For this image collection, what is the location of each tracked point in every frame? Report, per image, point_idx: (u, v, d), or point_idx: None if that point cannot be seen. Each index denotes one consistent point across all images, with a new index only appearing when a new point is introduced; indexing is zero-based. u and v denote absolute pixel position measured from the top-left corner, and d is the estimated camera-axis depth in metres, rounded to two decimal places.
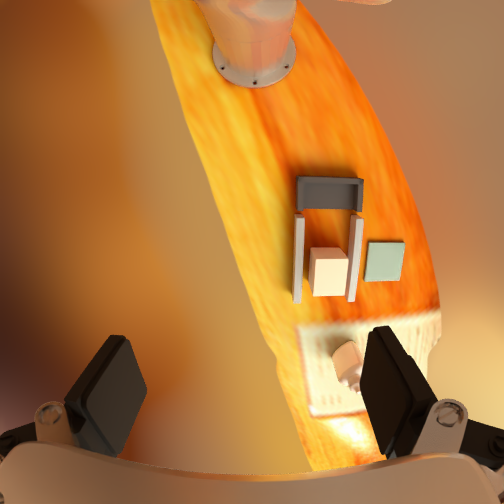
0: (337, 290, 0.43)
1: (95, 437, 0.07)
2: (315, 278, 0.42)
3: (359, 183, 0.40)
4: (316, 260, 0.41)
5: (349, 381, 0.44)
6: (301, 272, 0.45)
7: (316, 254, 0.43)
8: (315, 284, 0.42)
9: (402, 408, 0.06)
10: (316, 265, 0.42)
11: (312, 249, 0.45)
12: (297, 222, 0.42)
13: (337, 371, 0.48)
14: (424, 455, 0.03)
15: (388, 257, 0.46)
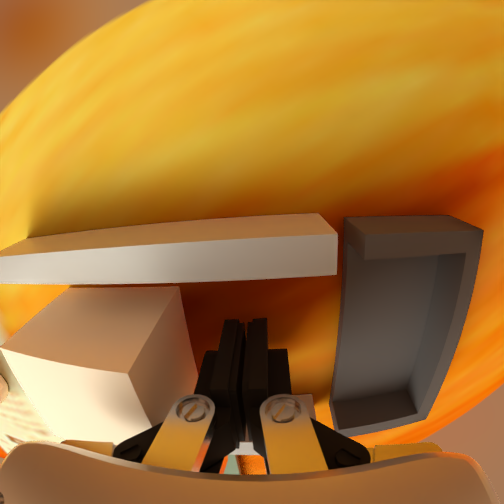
0: (54, 423, 0.08)
1: (234, 425, 0.08)
2: (50, 363, 0.07)
3: (419, 414, 0.11)
4: (122, 374, 0.07)
5: None
6: (72, 279, 0.08)
7: (153, 346, 0.08)
8: (32, 360, 0.07)
9: (243, 394, 0.08)
10: (100, 373, 0.07)
11: (172, 302, 0.11)
12: (314, 240, 0.08)
13: None
14: (424, 455, 0.03)
15: None
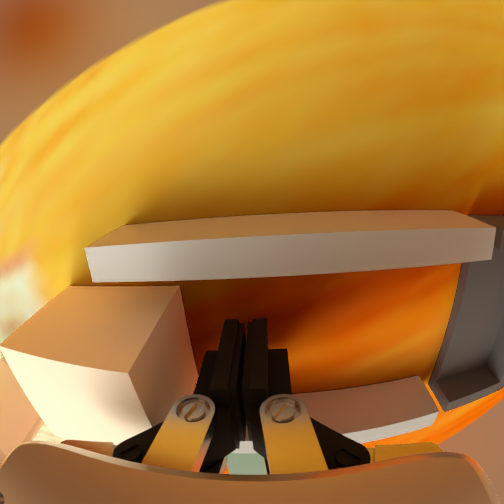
0: (53, 422, 0.08)
1: (234, 425, 0.08)
2: (49, 362, 0.07)
3: (500, 383, 0.10)
4: (123, 373, 0.07)
5: None
6: (257, 271, 0.08)
7: (154, 345, 0.08)
8: (31, 359, 0.07)
9: (243, 394, 0.08)
10: (100, 372, 0.07)
11: (173, 302, 0.11)
12: (484, 231, 0.07)
13: None
14: (424, 455, 0.03)
15: None
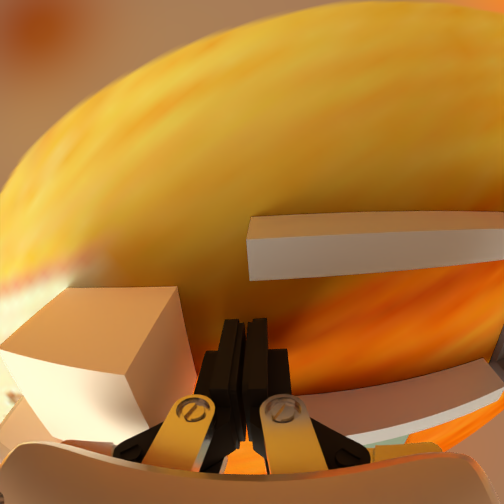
0: (52, 424, 0.08)
1: (234, 425, 0.08)
2: (47, 364, 0.07)
3: None
4: (119, 375, 0.07)
5: None
6: (425, 262, 0.08)
7: (151, 347, 0.08)
8: (29, 361, 0.07)
9: (243, 394, 0.08)
10: (97, 374, 0.07)
11: (170, 303, 0.11)
12: None
13: (12, 422, 0.09)
14: (424, 455, 0.03)
15: None
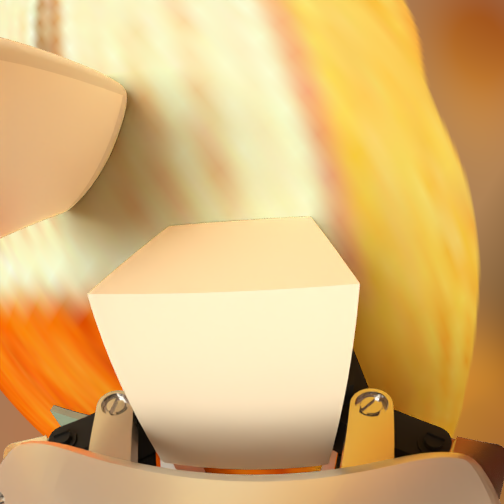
0: (152, 335, 0.05)
1: None
2: (336, 402, 0.06)
3: None
4: (324, 459, 0.06)
5: None
6: None
7: None
8: (339, 372, 0.05)
9: None
10: (326, 448, 0.06)
11: None
12: None
13: (31, 86, 0.04)
14: (424, 455, 0.03)
15: None
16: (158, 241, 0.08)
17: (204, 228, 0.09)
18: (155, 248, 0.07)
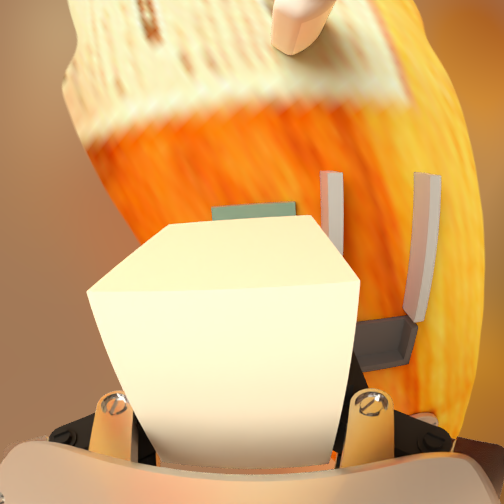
0: (151, 333, 0.05)
1: None
2: (337, 401, 0.06)
3: None
4: (325, 458, 0.06)
5: None
6: (428, 237, 0.22)
7: None
8: (339, 371, 0.05)
9: None
10: (327, 447, 0.06)
11: None
12: (423, 315, 0.24)
13: None
14: (424, 455, 0.03)
15: None
16: (158, 239, 0.08)
17: (204, 227, 0.09)
18: (154, 246, 0.07)
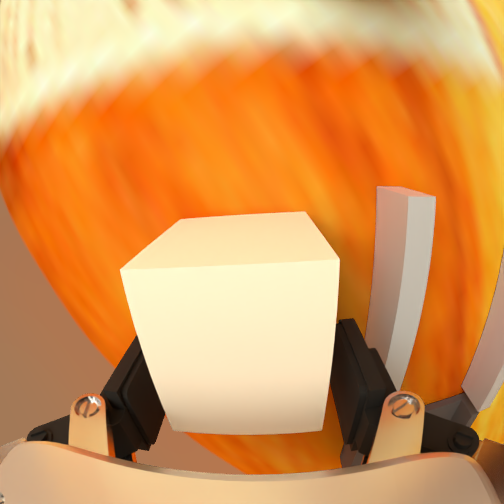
0: (174, 303, 0.07)
1: (132, 427, 0.07)
2: (326, 364, 0.07)
3: None
4: (318, 425, 0.08)
5: None
6: None
7: None
8: (326, 336, 0.07)
9: (357, 397, 0.07)
10: (319, 413, 0.08)
11: None
12: (491, 401, 0.12)
13: None
14: (424, 455, 0.03)
15: None
16: (173, 231, 0.10)
17: (212, 221, 0.11)
18: (171, 236, 0.09)
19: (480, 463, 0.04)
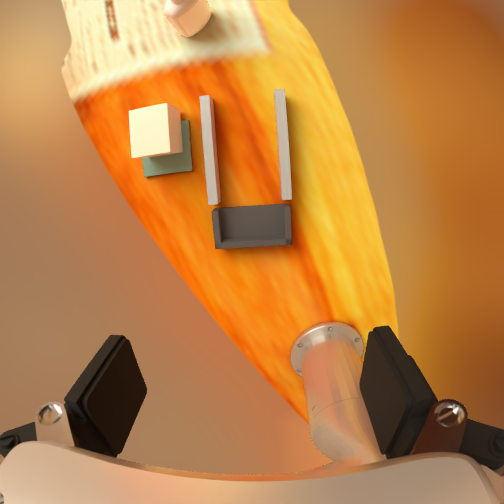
0: (138, 115, 0.29)
1: (95, 437, 0.07)
2: (167, 126, 0.30)
3: (219, 244, 0.38)
4: (169, 150, 0.31)
5: None
6: (279, 131, 0.33)
7: (171, 152, 0.33)
8: (166, 118, 0.30)
9: (402, 408, 0.06)
10: (168, 143, 0.31)
11: (179, 152, 0.35)
12: (290, 194, 0.35)
13: (204, 0, 0.25)
14: (424, 455, 0.03)
15: (161, 155, 0.36)
16: None
17: None
18: None
19: None
